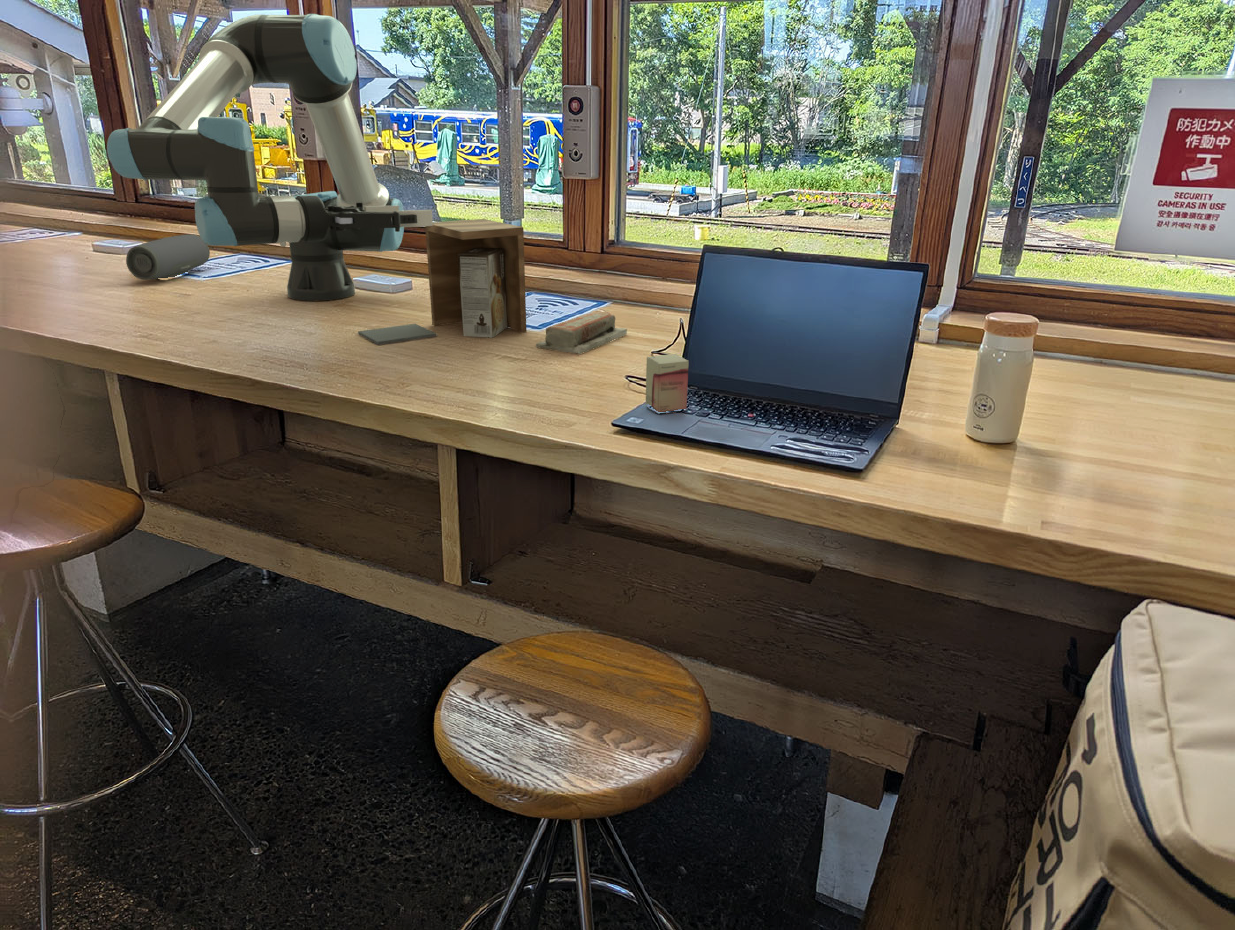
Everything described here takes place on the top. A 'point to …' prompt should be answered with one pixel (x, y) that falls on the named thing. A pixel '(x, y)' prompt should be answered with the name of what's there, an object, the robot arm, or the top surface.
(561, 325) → the packaged product
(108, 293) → the top surface
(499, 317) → the coffee box
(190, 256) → the bluetooth speaker
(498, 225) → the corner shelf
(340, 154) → the robot arm
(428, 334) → the mat
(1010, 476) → the top surface
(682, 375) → the small box
